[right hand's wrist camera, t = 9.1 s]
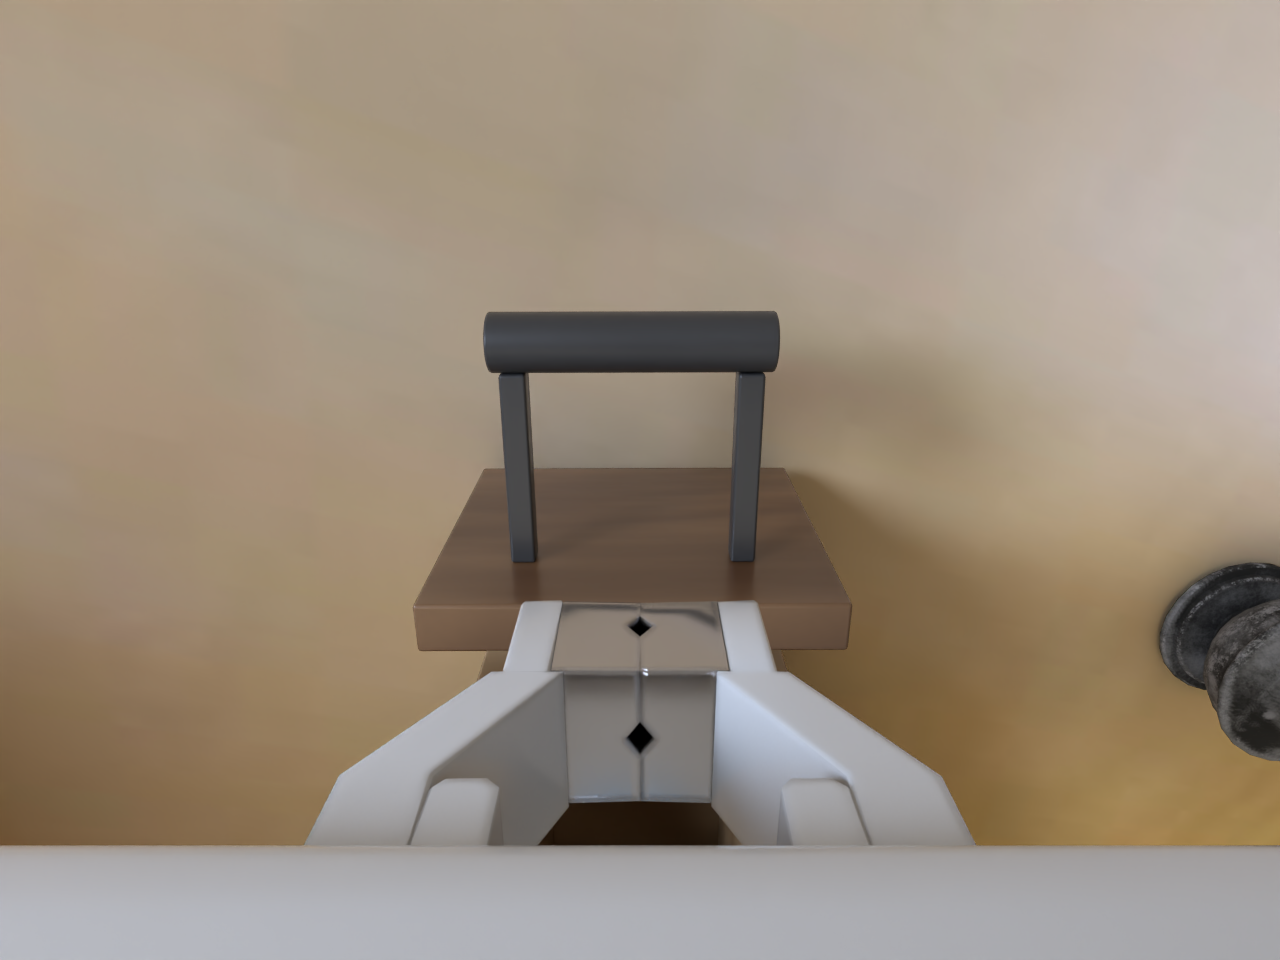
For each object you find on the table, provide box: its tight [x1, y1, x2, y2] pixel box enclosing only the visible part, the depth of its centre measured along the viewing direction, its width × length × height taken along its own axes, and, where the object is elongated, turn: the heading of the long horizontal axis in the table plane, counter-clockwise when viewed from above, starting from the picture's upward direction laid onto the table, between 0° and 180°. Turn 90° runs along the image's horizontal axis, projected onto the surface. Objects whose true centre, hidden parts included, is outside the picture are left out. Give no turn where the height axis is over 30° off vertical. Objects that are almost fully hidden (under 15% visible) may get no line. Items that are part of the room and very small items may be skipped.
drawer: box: [413, 311, 852, 846], centre depth 23 cm, size 25×10×9 cm, turn 0°
